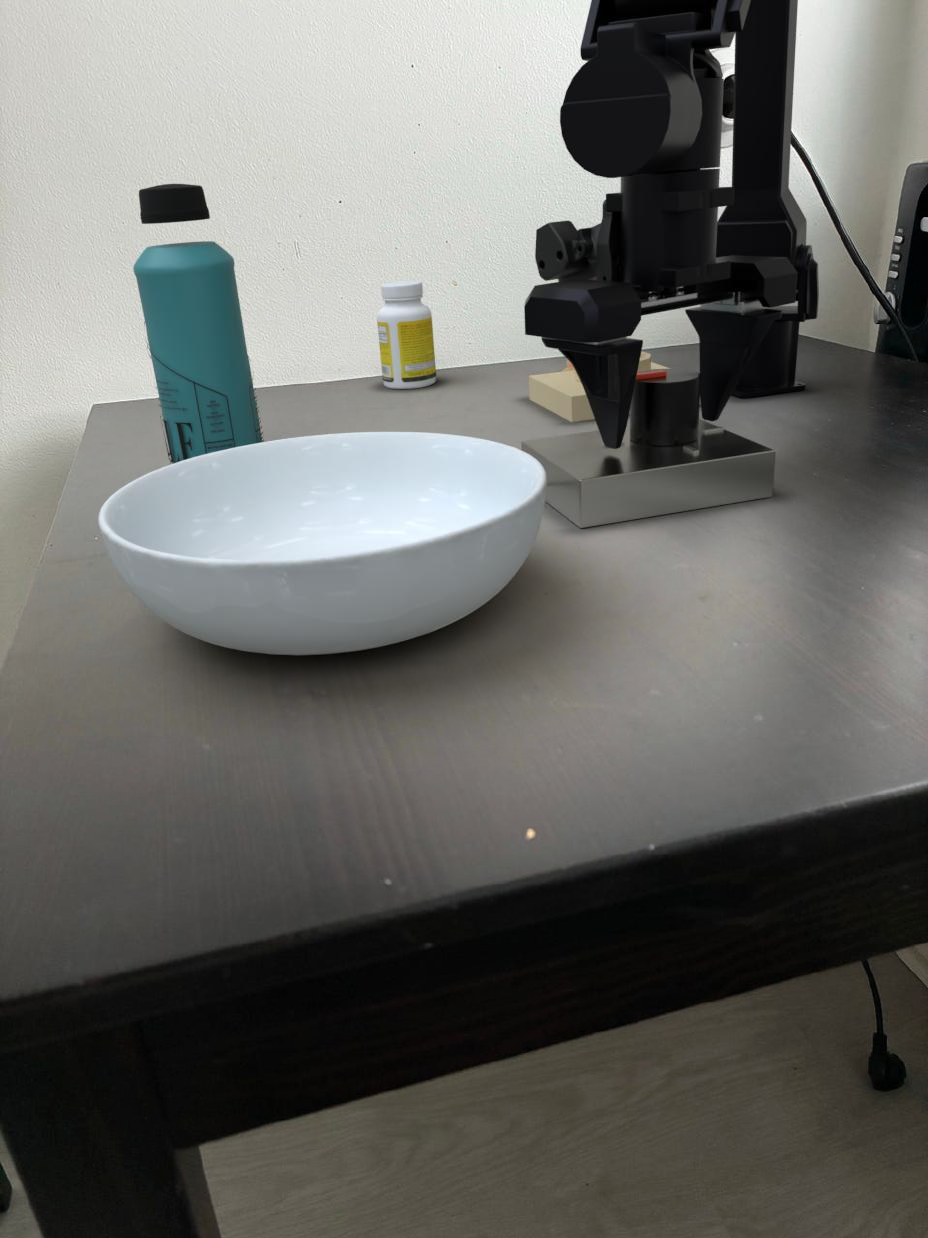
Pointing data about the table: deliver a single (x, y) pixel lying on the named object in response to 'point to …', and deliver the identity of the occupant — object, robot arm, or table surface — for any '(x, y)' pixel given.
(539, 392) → the coffee base
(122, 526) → the serving bowl
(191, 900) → the table surface
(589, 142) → the robot arm
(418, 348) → the supplement bottle
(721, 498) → the dial panel
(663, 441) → the brew dial
